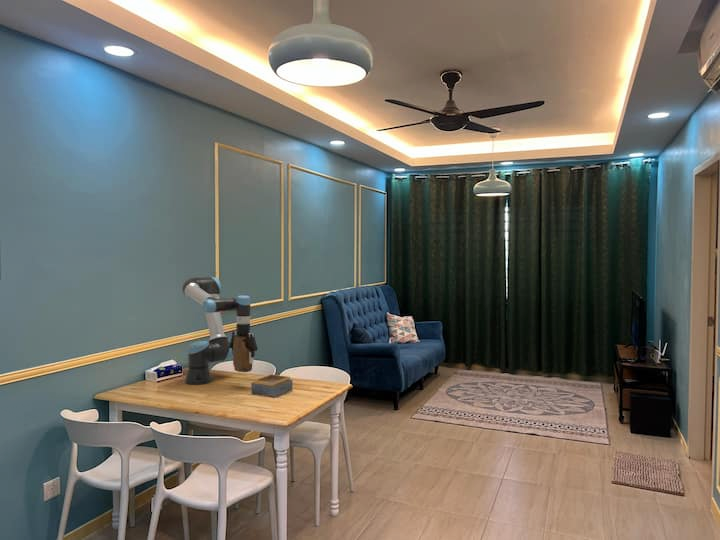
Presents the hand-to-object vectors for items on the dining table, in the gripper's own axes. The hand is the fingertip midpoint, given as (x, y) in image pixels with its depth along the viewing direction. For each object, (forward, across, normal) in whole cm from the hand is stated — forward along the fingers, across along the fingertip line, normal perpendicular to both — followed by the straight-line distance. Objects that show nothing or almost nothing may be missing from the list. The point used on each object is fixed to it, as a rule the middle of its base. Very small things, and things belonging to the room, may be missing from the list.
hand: (243, 361), depth 301 cm
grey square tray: (+15, +20, +1) cm, 25 cm away
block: (+5, 0, 0) cm, 5 cm away
